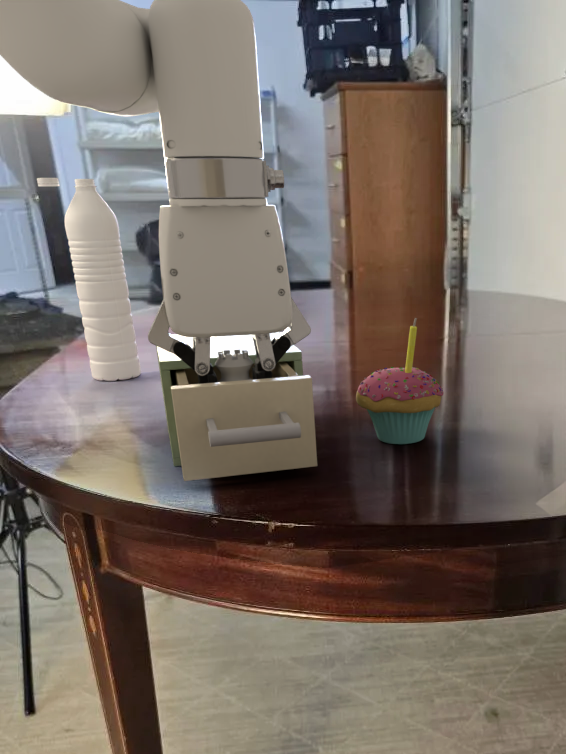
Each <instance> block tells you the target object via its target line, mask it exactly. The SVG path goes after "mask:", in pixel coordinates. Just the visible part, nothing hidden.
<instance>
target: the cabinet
mask: <svg viewBox="0 0 566 754" xmlns="http://www.w3.org/2000/svg"><path fill="white" fill-rule="evenodd" d="M281 333H282V332H281V331H280V332H276V333H269V334H270V339H271V341H272V340H273V339H274V337H275V336H276V335H278V334H281ZM171 335H172V336H174V337H176V338H178V339H180V340H183V341H185V342H186V343H187V344H188V345H189V346H191V347H192V348H193V337H184V336H180V335H178V334H176V333H174V334H171ZM155 349H156V356H157V362H158V370H159V376H160V377H159V378H160V384H161V390H162V391H161V392H162V397H163V398H162V399H163V406H164V412H165V419H166V426H167V433H168V438H169V444H170V445H169V446H170V449H171V457H172V464H173V467H180V466H181V467H182V465H181V458H180V451H179V443H178V436H177V429H176V422H175V414H174V407H173V400H172V393H171V386H176V381H175V373H174V370H177V369H190V368H191V367H190V366H188V365H187V364H186V363H185V362H183V361H182V360H181V359H180V358H179V357H177V356H176V355H175V354H173V353H171V352H168V351H166V350H164V349H162V348H160V347H157V346H155ZM234 349H240V353H242V350H247V352H248V357H249V358H250V359H251V360H252V361H253V364H255V360H256V358H257V357H256V352H255V348H254V343H253V339H252V335H237V336H218V337H211V345H210V363H211V364H212V367H216V366H215V362H216V361H217V359H218V352H219V351H223V353H224V350H230V354H235V353H234ZM278 362H286V363H287V364H288V365H289V366H290V367H291V368H292V369H293V370H294V371H295V372H296V374H297V375H298V376H304V367H303V366H304V365H303V352H302V351H301V350H300V349H299V348H298V347H297V346H295V345H293V346H291V347H290V348H289V350H288V351H287V352H286V353H285V354H284V355H283V357H282V358H281V359H280V360H279V361H278Z"/></svg>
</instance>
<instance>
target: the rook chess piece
mask: <svg viewBox="0 0 566 754" xmlns="http://www.w3.org/2000/svg"><path fill="white" fill-rule="evenodd" d="M234 353H235V354H230V350H224V353H223V351H219V352H218V359H217V361H216V362H215V366H216V367H217V368H218V369H219V371H220V372H221V379H220V381H219V382H229V381H241V380H252V379H251V378H250V377H249V370H250V368H251V366H252V365H253V361H252V360H251V359H250V358H249V357H248V352H247V350H242V353H240V349H234Z"/></svg>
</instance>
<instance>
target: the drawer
mask: <svg viewBox="0 0 566 754" xmlns="http://www.w3.org/2000/svg"><path fill="white" fill-rule="evenodd" d="M254 365H255V364H253V365H252V366H251V368H250V370H249V377H250V378H251V379H252V380H241V381H229V382H219V381H220V379H221V372H220V371H219V369H218V368H217V367H213V370H214V372H215V374H216V376H217V382H216V383H204V384H199V381H198V374H197V373H196V371H194V370H193V369H192V368H190V369H177V370H174V373H175V381H176V386H171V393H172V400H173V407H174V414H175V422H176V429H177V436H178V443H179V451H180V458H181V465H182V466H181V472H182V477H183V482H189V481H198V480H207V479H215V478H217V479H218V478H226V477H233V476H234V477H235V476H242V475H243V476H244V475H252V474H260V473H261V474H262V473H268V472H277V471H278V472H279V471H286V470H294V469H304V468H313V467H318V456H317V455H318V454H317V453H318V452H317V439H316V423H315V422H316V421H315V405H314V391H313V389H314V387H313V377H311V375H310V374H305V375H304V374H303V376H298V375H297V374H296V372H295V371H294V370H293V369H292V368H291V367H290V366H289V365H288V364H287V363H286V362H277V364H276V365H275V368H274V369H273V370H272V378H266V379H254V380H253V375H252V368H254Z"/></svg>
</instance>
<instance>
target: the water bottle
mask: <svg viewBox="0 0 566 754" xmlns="http://www.w3.org/2000/svg"><path fill="white" fill-rule="evenodd" d="M36 181H37V187H60V181H59V178H58V177H37V178H36ZM74 184H75V185H74V186H73V188H75V192H74V194H73V197H71V198H72V199H71V200H70V203H69V205H68V207H67V209H66V211H65V215H64V229H65V233H66V239H67V240H68V242H67V243H68V246H69V253H70V260H71V266H72V272H73V274H74V275H73V277H74V280H75V288H76V295H77V298H78V300H79V302H78V305H79V312H80V314H81V316H82V317H81V323H82V327H83V328H84V332H83V333H84V339H85V342H86V344H87V345H86V350H87V355H88V358H89V367H90V374H91V377H92V379H95V380H97V381H106V382H114V381H117V380H118V381H125V380H130V379H133V378H138V377H139V376H140V375H141V374H142V367H141V362H140V357H139V355H138V354H139V349H138V344H137V341H136V330H135V327H134V317H133V314H132V303H131V300H130V297H129V296H130V291H129V285H128V281H127V279H126V278H127V273H126V272H125V271H126V267H125V261H124V255H123V248H122V246H121V245H122V241H121V239H120V238H121V234H120V233H121V232H120V226H119V221H118V218H117V216H116V214H115V213H114V211H113V210H112V208H111V207H110V205H108V203H107V202H106V201H105V200H104V199H103V197H102V196H101V194H99V192H98V191H97V187H98V185H95V184H96V183H95V179H94V178H74Z"/></svg>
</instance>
